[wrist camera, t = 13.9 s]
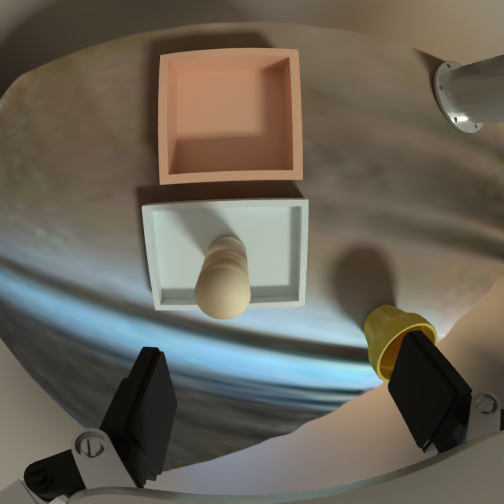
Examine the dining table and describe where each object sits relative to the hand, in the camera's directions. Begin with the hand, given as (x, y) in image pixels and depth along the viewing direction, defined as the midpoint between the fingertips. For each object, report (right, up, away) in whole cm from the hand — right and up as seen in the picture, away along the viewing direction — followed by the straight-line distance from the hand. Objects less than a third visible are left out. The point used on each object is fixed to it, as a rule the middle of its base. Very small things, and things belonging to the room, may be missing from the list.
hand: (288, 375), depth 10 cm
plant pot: (+20, -7, +32) cm, 38 cm away
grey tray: (-5, +4, +27) cm, 28 cm away
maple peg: (-5, +4, +26) cm, 27 cm away
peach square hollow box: (-4, +21, +22) cm, 31 cm away
